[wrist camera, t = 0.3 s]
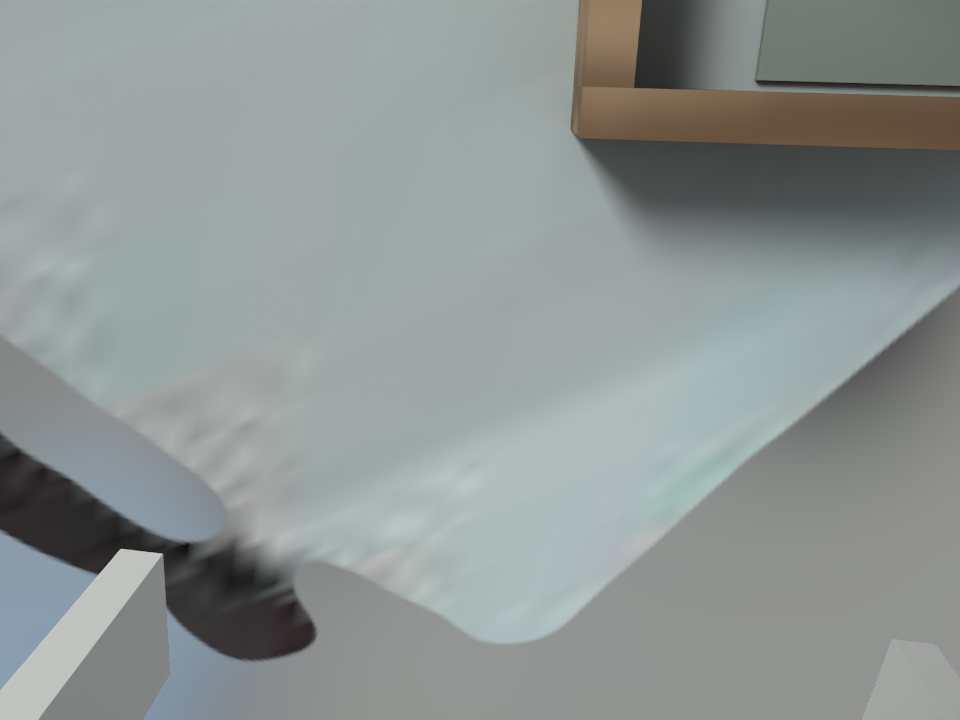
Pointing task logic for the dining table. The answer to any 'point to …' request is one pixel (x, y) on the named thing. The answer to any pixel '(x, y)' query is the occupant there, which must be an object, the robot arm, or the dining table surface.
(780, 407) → the dining table surface
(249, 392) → the dining table surface
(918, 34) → the pad
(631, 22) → the brown wooden l-shaped wall
